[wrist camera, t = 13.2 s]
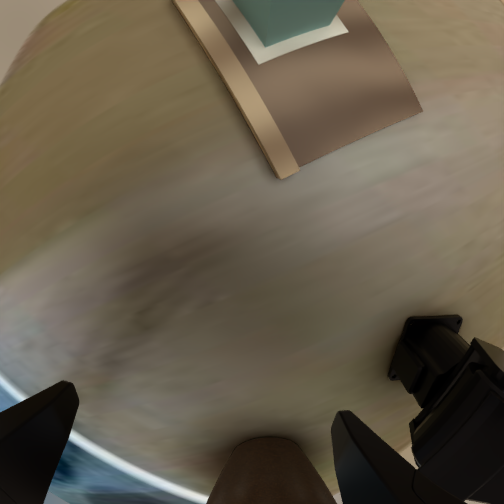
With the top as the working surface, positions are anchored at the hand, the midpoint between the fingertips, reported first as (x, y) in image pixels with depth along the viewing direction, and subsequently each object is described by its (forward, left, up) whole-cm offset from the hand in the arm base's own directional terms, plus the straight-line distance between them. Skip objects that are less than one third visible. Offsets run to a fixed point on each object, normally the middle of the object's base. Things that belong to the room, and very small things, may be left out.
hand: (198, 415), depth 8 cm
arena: (-4, -17, -13) cm, 22 cm away
